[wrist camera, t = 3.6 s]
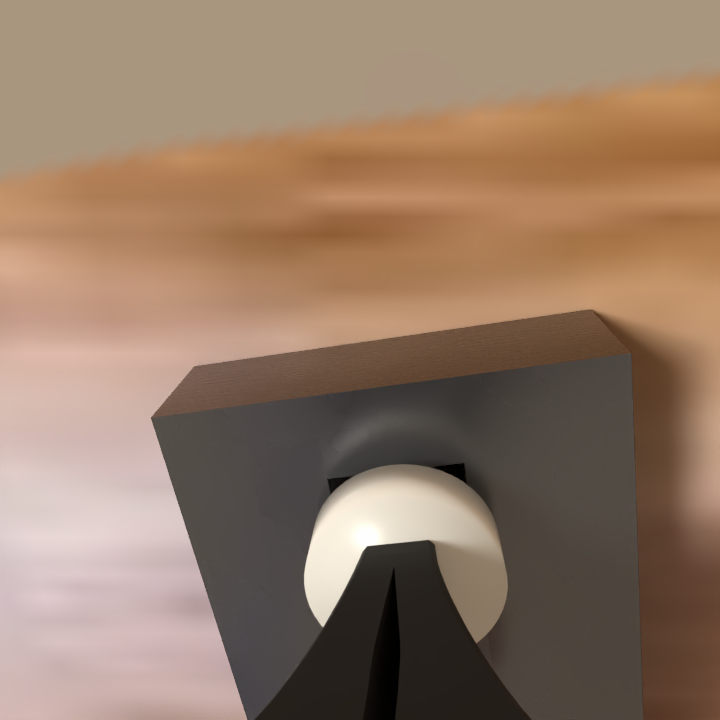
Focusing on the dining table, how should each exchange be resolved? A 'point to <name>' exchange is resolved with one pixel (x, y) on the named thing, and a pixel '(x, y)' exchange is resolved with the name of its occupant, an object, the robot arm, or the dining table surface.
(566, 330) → the knob plate
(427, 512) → the knob
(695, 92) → the dining table surface
